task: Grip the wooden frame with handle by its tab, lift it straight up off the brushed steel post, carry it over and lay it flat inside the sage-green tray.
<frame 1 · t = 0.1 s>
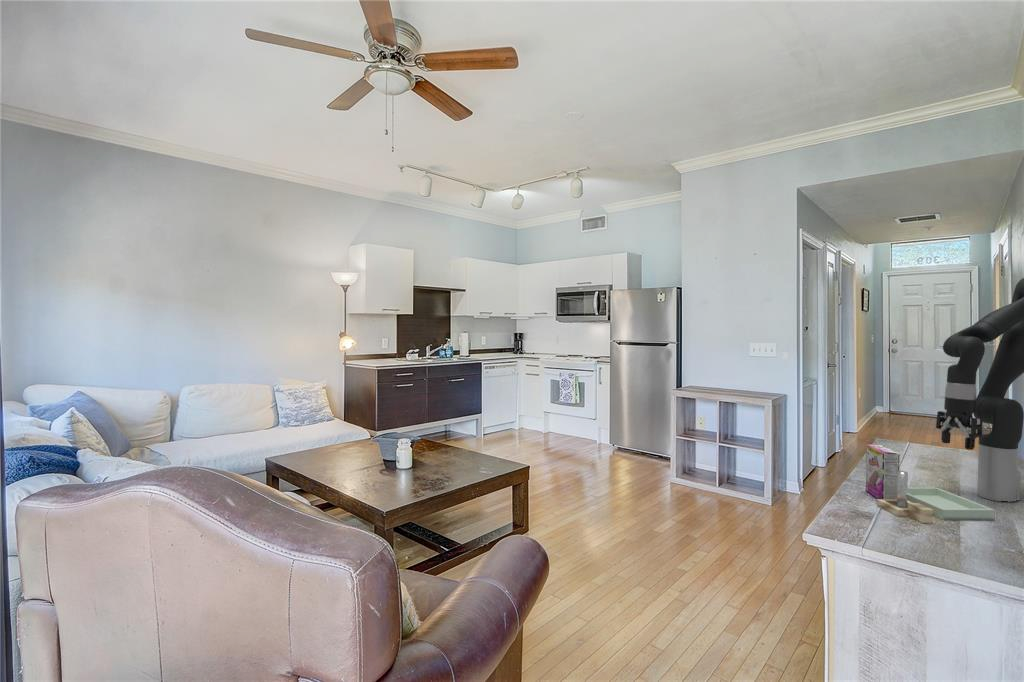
hand: (957, 446, 161), 17 cm above the table, tool pointing down, fingers open, 8 cm apart
candy bar box: (881, 498, 162), on the table
wooden frame with handle: (901, 510, 150), on the table
tray: (939, 507, 153), on the table
steel post: (901, 510, 150), on the table
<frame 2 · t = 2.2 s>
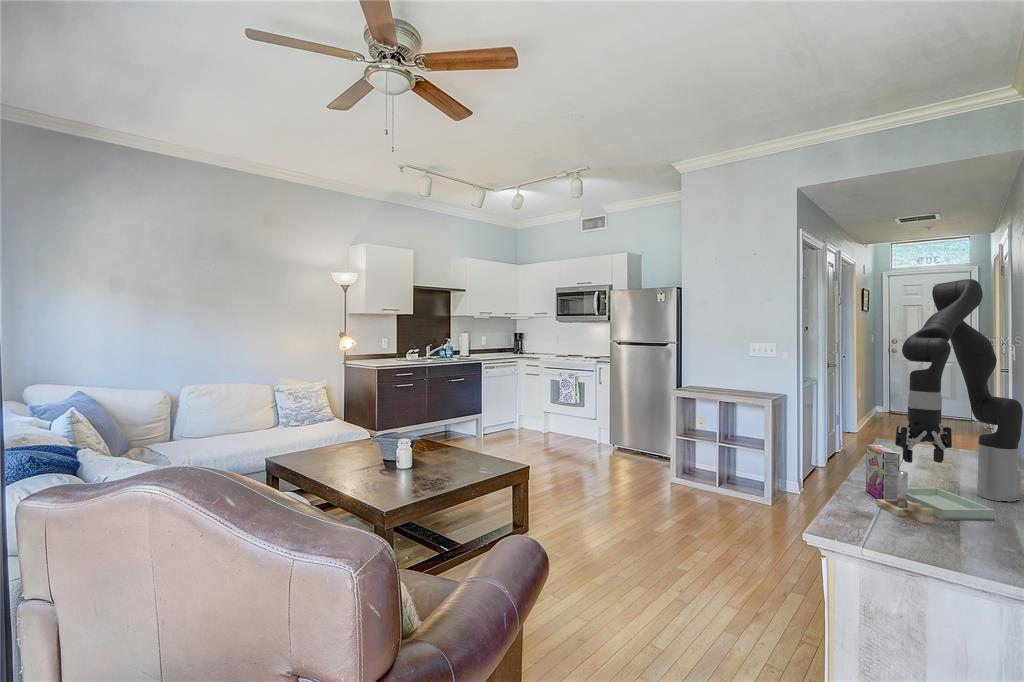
hand: (922, 462, 143), 17 cm above the table, tool pointing down, fingers open, 8 cm apart
nothing on the table moved.
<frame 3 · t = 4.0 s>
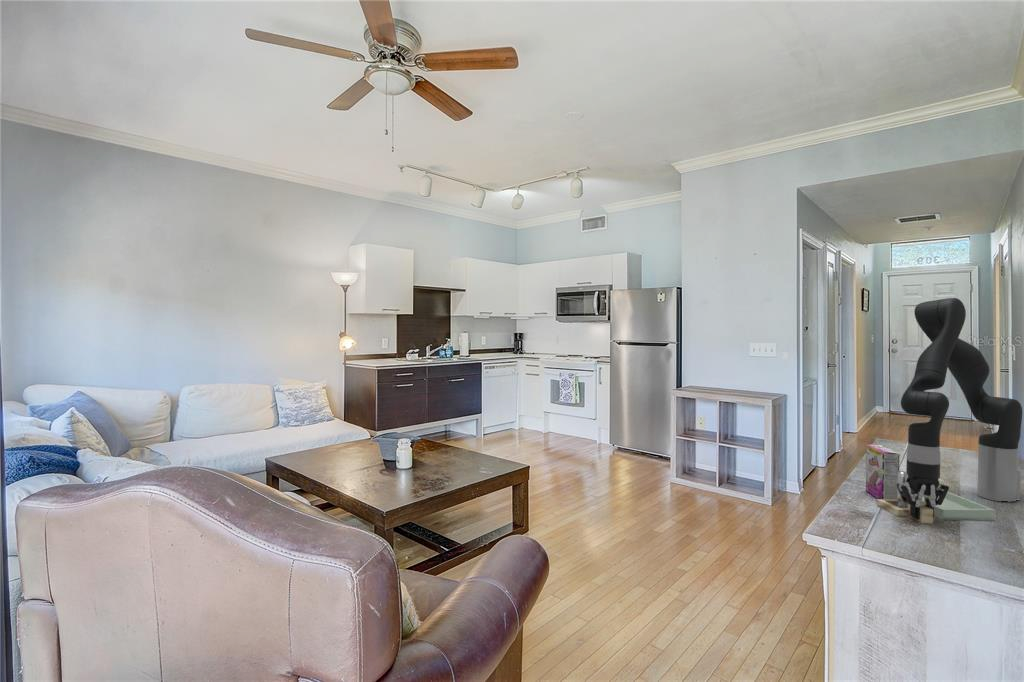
hand: (921, 518, 143), 1 cm above the table, tool pointing down, fingers closed on wooden frame with handle, 3 cm apart
wooden frame with handle: (901, 510, 150), on the table, touching gripper
everything else where it was.
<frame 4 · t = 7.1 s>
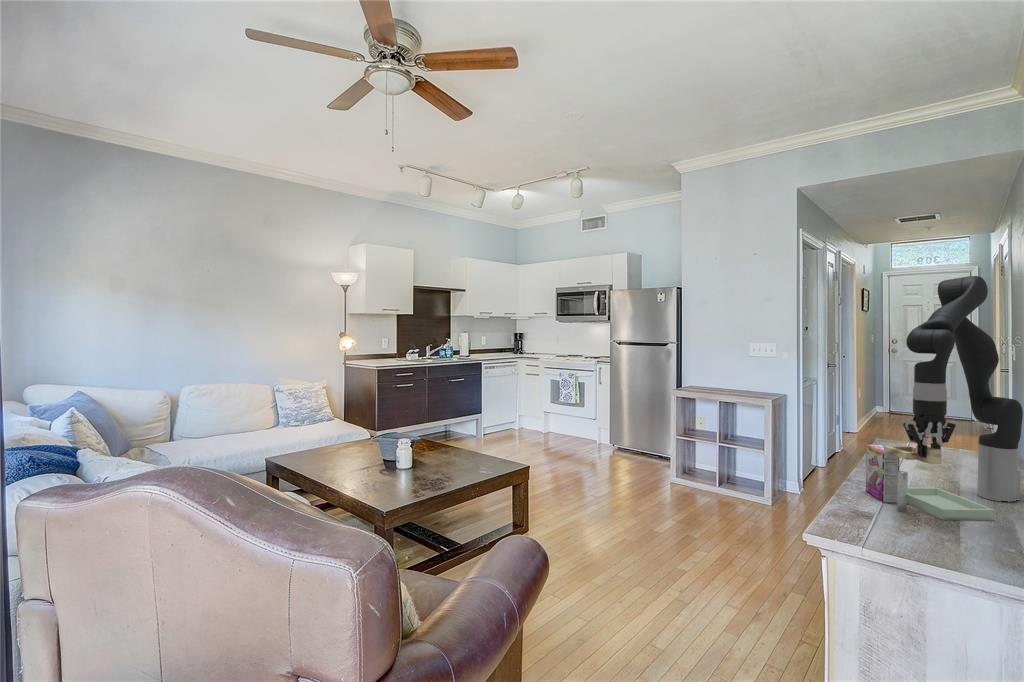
hand: (928, 456, 143), 19 cm above the table, tool pointing down, fingers closed on wooden frame with handle, 3 cm apart
wooden frame with handle: (909, 455, 150), point 17 cm above the table, touching gripper
everything else where it was.
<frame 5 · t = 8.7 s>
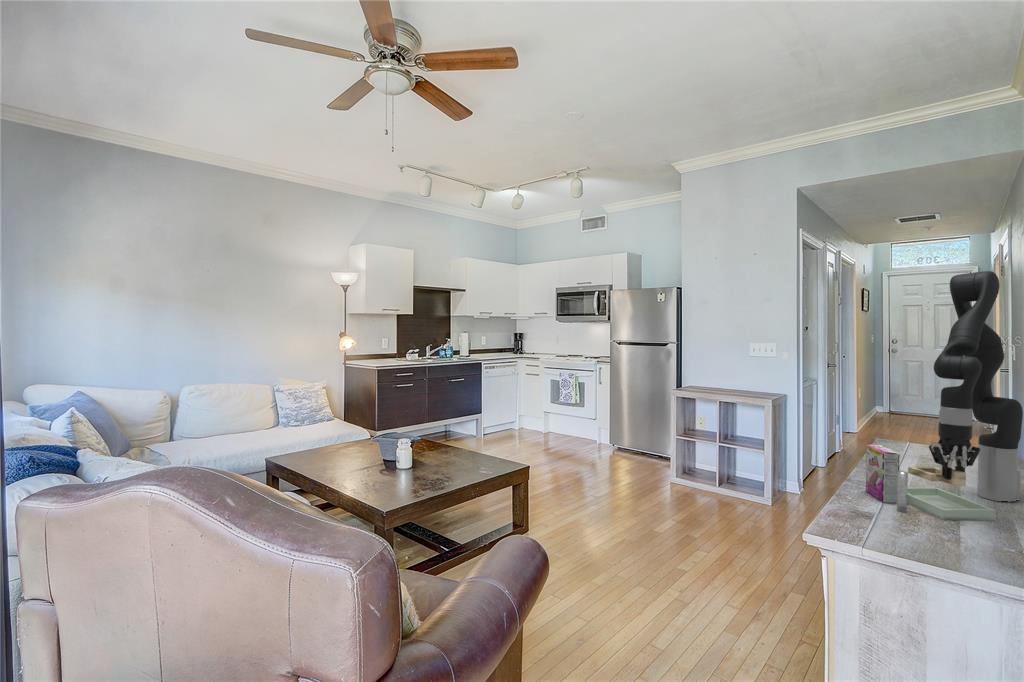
hand: (953, 478, 148), 11 cm above the table, tool pointing down, fingers closed on wooden frame with handle, 3 cm apart
wooden frame with handle: (933, 477, 155), point 9 cm above the table, touching gripper
everything else where it was.
when the fingers open (3 cm above the table, at t = 10.1 s): wooden frame with handle stays where it is, resting on tray.
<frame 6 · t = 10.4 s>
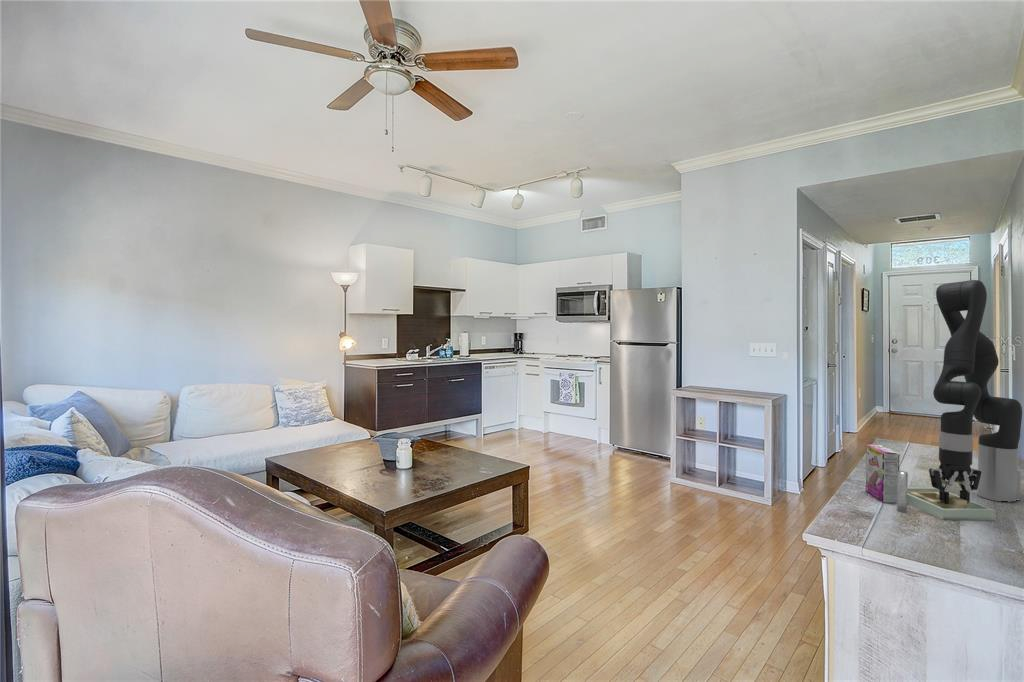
hand: (954, 503, 148), 3 cm above the table, tool pointing down, fingers open, 5 cm apart
wooden frame with handle: (934, 502, 155), point 1 cm above the table, touching tray
everything else where it was.
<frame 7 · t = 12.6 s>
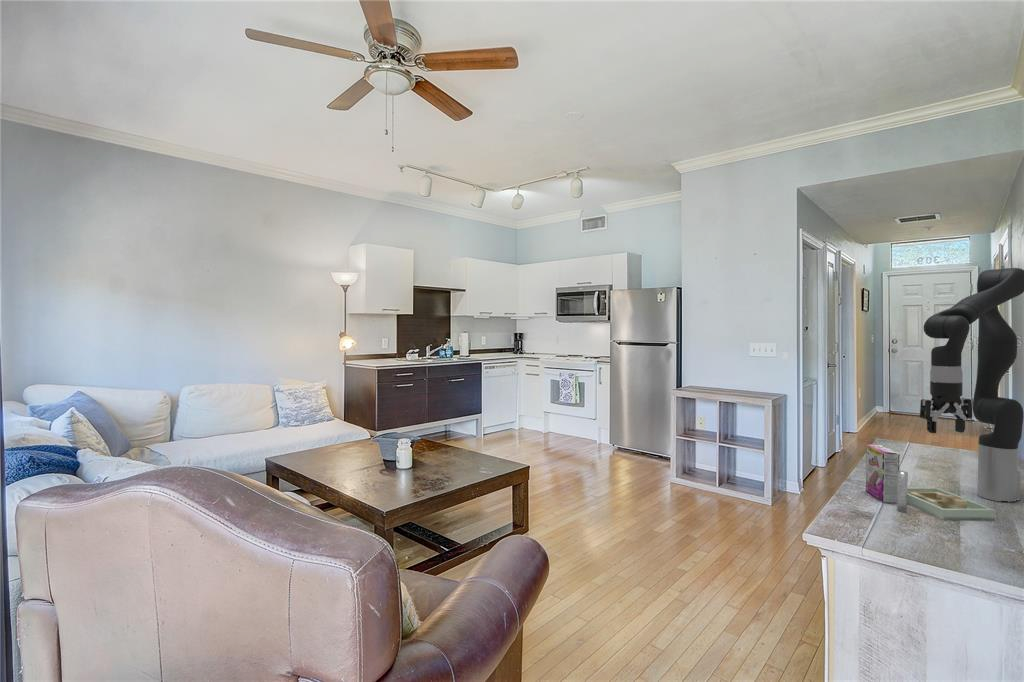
hand: (945, 432, 152), 24 cm above the table, tool pointing down, fingers open, 8 cm apart
nothing on the table moved.
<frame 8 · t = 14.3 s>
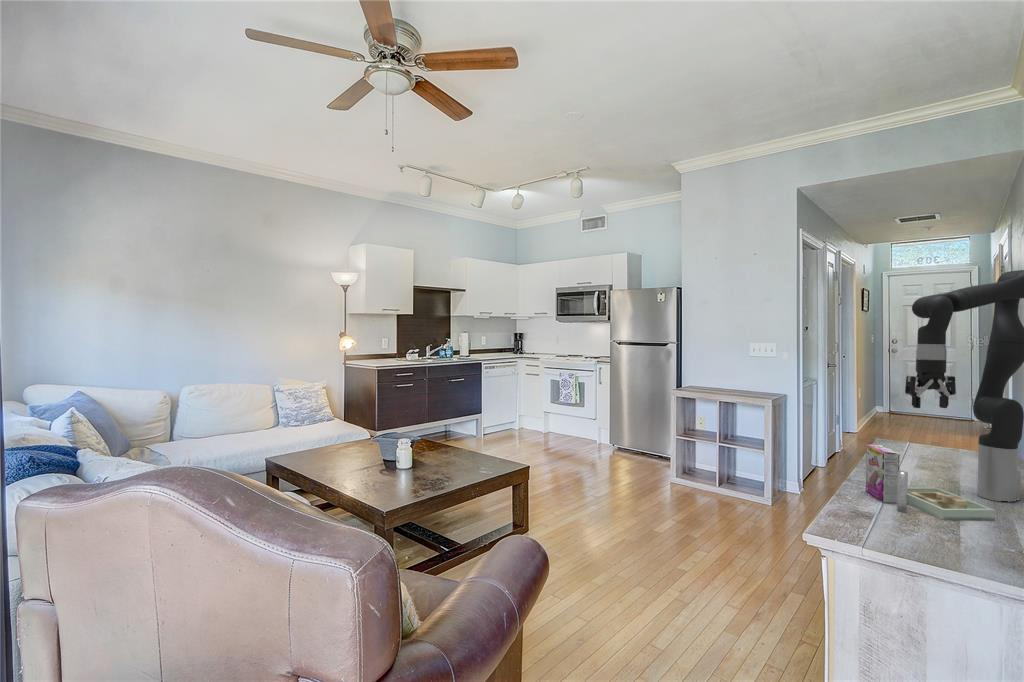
hand: (929, 407, 159), 30 cm above the table, tool pointing down, fingers open, 8 cm apart
nothing on the table moved.
at the end: wooden frame with handle 0.6 cm from the target spot on the tray, point 0.8 cm above the tray's base; wooden frame with handle tilted 0°; the gripper is holding nothing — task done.
